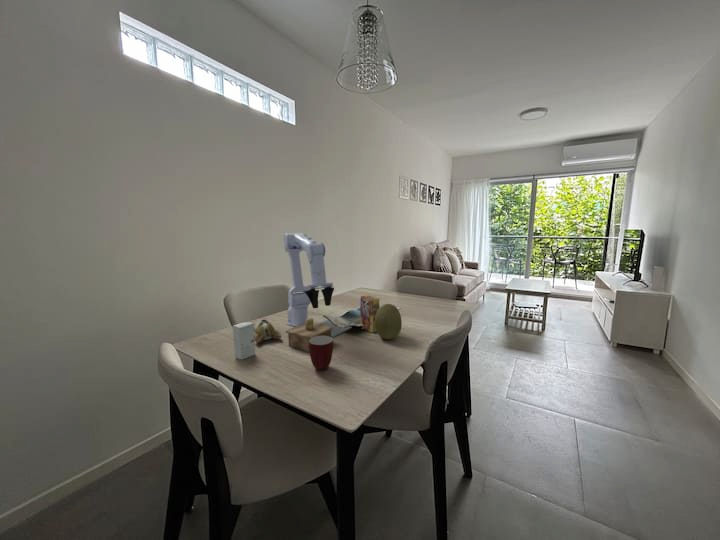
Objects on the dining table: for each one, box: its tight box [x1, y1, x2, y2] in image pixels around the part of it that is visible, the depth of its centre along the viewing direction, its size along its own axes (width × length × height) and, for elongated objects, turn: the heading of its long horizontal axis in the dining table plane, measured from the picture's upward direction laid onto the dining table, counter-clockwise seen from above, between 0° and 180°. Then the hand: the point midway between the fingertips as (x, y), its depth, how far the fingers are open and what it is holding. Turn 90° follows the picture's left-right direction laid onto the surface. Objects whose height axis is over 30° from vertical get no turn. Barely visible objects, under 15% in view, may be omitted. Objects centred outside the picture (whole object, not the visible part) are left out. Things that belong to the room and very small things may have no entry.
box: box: [287, 330, 332, 353], centre depth 118 cm, size 12×12×6 cm
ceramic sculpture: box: [254, 317, 282, 344], centre depth 123 cm, size 11×9×15 cm
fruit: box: [375, 303, 403, 340], centre depth 122 cm, size 11×11×15 cm
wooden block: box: [285, 317, 333, 339], centre depth 117 cm, size 13×13×5 cm
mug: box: [308, 336, 334, 372], centre depth 96 cm, size 10×8×10 cm
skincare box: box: [232, 321, 256, 361], centre depth 106 cm, size 6×4×12 cm
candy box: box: [360, 294, 380, 334], centre depth 133 cm, size 9×4×15 cm, turn 39°
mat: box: [318, 319, 353, 339], centre depth 135 cm, size 16×16×1 cm
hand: (321, 306), depth 115 cm, fingers open, 7 cm apart
